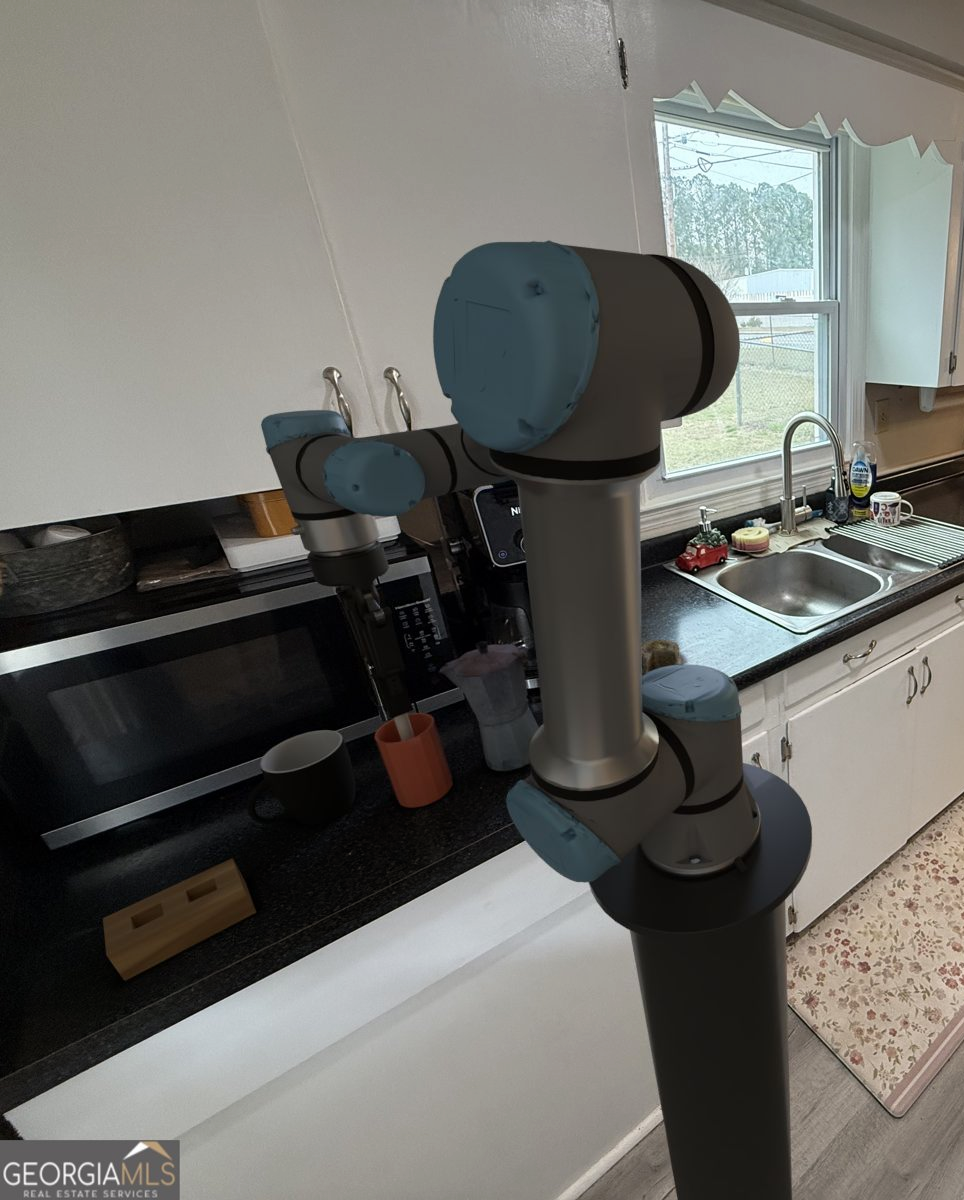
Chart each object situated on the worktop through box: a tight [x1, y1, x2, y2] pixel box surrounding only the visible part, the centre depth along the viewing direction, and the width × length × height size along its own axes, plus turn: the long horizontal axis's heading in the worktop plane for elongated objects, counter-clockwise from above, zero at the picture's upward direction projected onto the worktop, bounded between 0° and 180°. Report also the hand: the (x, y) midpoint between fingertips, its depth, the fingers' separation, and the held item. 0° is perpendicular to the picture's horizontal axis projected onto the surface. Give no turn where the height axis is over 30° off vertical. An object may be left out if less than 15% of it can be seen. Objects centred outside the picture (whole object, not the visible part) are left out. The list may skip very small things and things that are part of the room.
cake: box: [642, 639, 684, 675], centre depth 121 cm, size 10×10×5 cm
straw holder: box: [102, 857, 257, 982], centre depth 68 cm, size 6×11×4 cm, turn 138°
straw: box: [393, 712, 415, 741], centre depth 84 cm, size 2×2×18 cm
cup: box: [373, 712, 453, 808], centre depth 87 cm, size 7×7×11 cm
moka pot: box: [438, 640, 541, 772], centre depth 93 cm, size 10×15×20 cm, turn 110°
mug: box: [246, 729, 356, 826], centre depth 83 cm, size 12×9×10 cm
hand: (398, 709), depth 83 cm, fingers closed on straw, 1 cm apart
